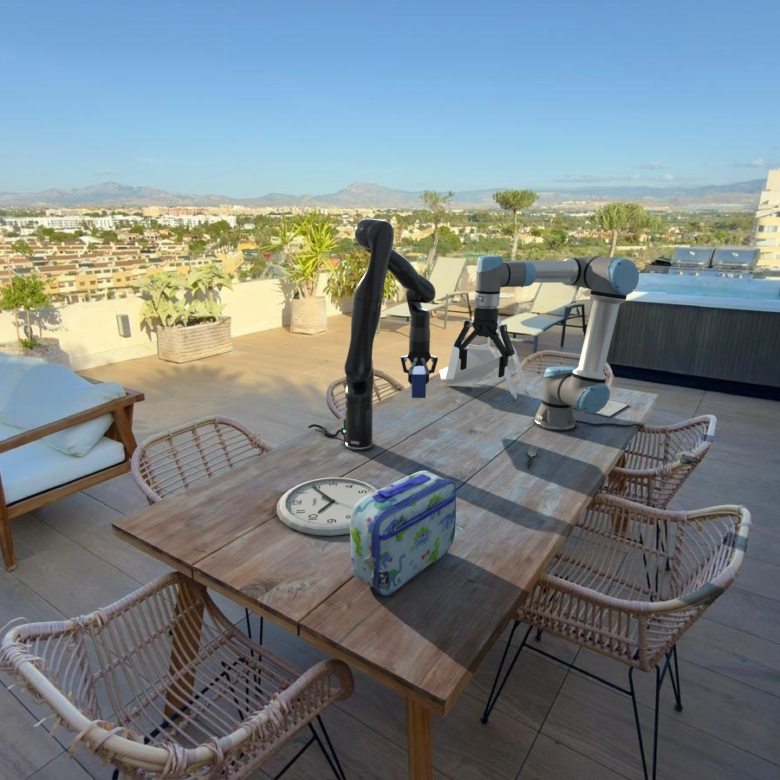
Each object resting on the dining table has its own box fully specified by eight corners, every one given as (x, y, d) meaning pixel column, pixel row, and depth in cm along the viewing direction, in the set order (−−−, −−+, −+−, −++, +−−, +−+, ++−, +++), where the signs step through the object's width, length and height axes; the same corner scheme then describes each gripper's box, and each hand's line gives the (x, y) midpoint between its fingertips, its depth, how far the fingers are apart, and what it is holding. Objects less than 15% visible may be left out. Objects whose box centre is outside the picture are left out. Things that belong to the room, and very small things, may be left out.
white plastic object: (461, 429, 252) (437, 405, 227) (444, 352, 274) (420, 323, 250) (535, 404, 240) (518, 377, 215) (510, 326, 262) (492, 293, 237)
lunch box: (378, 608, 104) (379, 516, 98) (343, 583, 112) (342, 495, 105) (459, 554, 122) (465, 473, 116) (425, 535, 129) (428, 458, 123)
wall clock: (392, 527, 129) (268, 531, 127) (391, 533, 130) (269, 537, 127) (383, 473, 158) (282, 475, 155) (383, 478, 158) (282, 480, 156)
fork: (523, 469, 166) (524, 463, 165) (529, 450, 180) (529, 445, 179) (532, 470, 165) (532, 464, 164) (536, 451, 179) (537, 446, 179)
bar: (409, 379, 216) (410, 357, 213) (422, 379, 216) (422, 358, 213) (411, 398, 192) (412, 374, 189) (425, 398, 192) (426, 374, 189)
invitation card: (608, 416, 214) (573, 407, 224) (608, 416, 214) (573, 408, 224) (628, 404, 229) (594, 396, 238) (628, 405, 229) (594, 397, 238)
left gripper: (399, 340, 185) (399, 386, 191) (440, 340, 185) (438, 386, 190) (399, 336, 193) (399, 380, 198) (438, 336, 193) (437, 380, 198)
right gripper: (445, 304, 167) (442, 368, 173) (519, 312, 153) (513, 382, 159) (457, 301, 172) (454, 364, 179) (529, 309, 158) (522, 377, 165)
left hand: (418, 383), depth 194 cm, fingers closed on bar, 5 cm apart
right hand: (481, 372), depth 169 cm, fingers open, 13 cm apart
